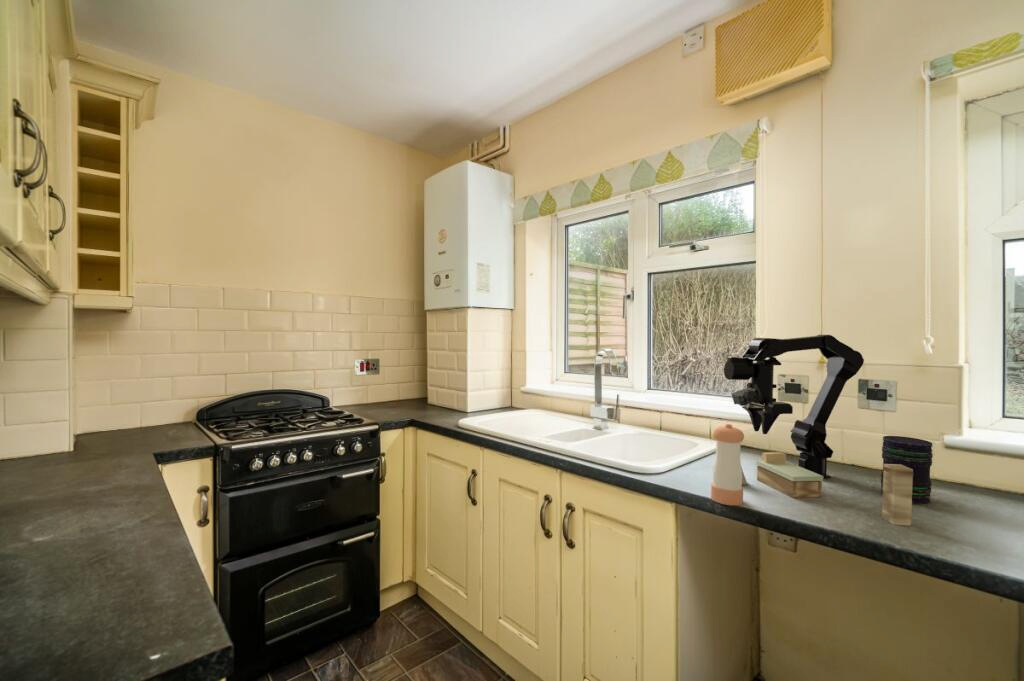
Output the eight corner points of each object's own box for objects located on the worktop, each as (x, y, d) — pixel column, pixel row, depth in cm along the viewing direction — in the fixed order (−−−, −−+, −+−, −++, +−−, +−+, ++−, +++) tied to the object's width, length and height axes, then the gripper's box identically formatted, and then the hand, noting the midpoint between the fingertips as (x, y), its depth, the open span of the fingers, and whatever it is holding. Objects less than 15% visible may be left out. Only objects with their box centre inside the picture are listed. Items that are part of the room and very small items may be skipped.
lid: (783, 464, 131) (783, 451, 130) (823, 480, 116) (823, 466, 116) (756, 464, 130) (756, 451, 130) (793, 481, 115) (793, 467, 115)
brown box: (881, 517, 104) (883, 463, 104) (899, 518, 104) (901, 464, 103) (893, 524, 100) (895, 468, 100) (911, 525, 100) (913, 469, 100)
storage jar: (931, 497, 117) (933, 440, 117) (931, 508, 110) (933, 447, 110) (881, 488, 124) (883, 433, 124) (878, 497, 117) (880, 440, 117)
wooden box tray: (782, 479, 130) (783, 465, 130) (821, 496, 117) (821, 481, 116) (756, 479, 130) (757, 465, 129) (792, 497, 116) (793, 482, 116)
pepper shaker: (706, 500, 113) (708, 424, 113) (716, 492, 119) (718, 420, 118) (737, 508, 108) (739, 428, 108) (746, 500, 114) (748, 424, 113)
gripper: (718, 376, 142) (717, 426, 142) (757, 384, 124) (755, 440, 124) (751, 376, 143) (750, 425, 144) (794, 384, 125) (793, 440, 125)
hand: (760, 432), depth 134 cm, fingers open, 3 cm apart
